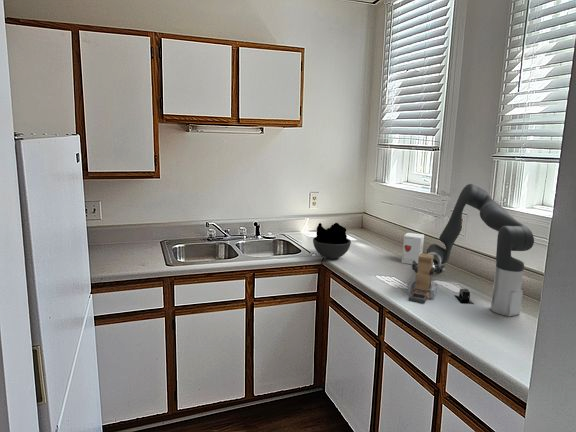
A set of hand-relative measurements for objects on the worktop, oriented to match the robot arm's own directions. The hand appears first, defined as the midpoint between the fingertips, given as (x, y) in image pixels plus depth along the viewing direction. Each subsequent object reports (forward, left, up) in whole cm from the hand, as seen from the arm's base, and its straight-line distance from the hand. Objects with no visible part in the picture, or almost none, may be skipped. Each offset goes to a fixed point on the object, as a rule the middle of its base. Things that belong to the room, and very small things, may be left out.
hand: (423, 271), depth 174 cm
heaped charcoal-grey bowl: (+60, +7, -10) cm, 62 cm away
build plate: (-10, -14, -11) cm, 20 cm away
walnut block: (+1, -2, -8) cm, 8 cm away
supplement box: (+39, -30, -10) cm, 51 cm away
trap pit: (-3, +5, -10) cm, 12 cm away
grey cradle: (+1, -2, -10) cm, 10 cm away
